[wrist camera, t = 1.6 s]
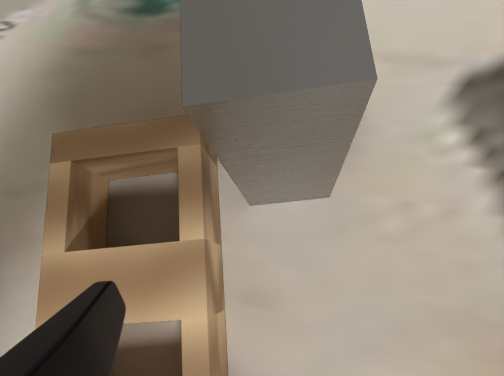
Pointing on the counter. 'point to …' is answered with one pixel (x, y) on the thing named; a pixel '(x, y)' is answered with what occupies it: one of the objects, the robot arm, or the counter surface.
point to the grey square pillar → (277, 89)
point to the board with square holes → (139, 256)
